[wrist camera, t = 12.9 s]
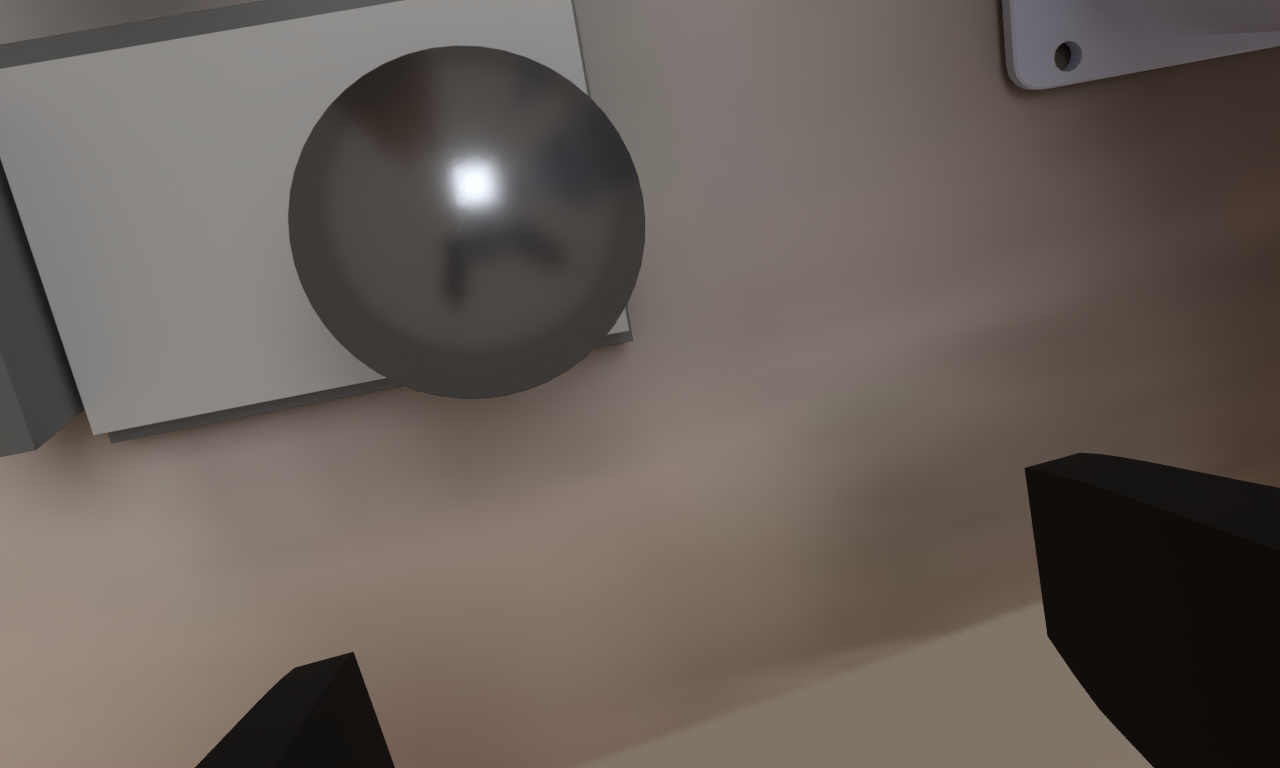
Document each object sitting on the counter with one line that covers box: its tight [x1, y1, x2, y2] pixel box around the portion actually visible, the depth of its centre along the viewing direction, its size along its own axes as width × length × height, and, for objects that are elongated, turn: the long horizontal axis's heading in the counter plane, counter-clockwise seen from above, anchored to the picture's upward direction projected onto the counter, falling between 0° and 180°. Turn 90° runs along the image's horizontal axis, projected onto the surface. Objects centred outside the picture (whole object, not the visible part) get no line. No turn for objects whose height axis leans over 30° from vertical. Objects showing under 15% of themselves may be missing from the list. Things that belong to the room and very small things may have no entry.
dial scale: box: [0, 0, 633, 457], centre depth 17 cm, size 11×7×4 cm, turn 100°
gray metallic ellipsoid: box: [288, 45, 645, 399], centre depth 15 cm, size 4×4×6 cm
